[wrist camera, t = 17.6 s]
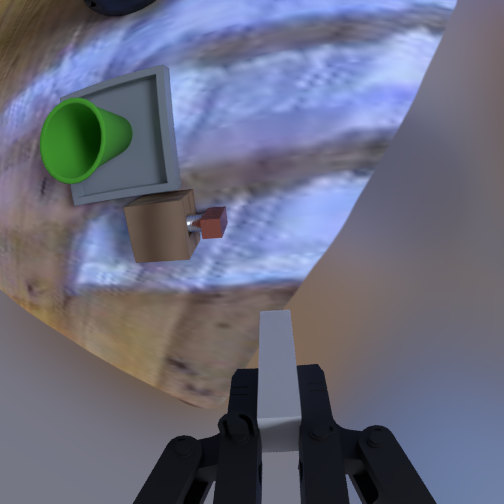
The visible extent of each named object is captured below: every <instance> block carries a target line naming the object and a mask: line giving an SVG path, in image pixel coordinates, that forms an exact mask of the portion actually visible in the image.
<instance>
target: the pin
mask: <svg viewBox="0 0 504 504" xmlns="http://www.w3.org/2000/svg"><path fill="white" fill-rule="evenodd" d="M186 221H187V228H188V232H192V231H202V237H203V239H209V238H222V237H223V234H224V231H225V229H226V226H227V214H226V206H225V207H213V208H208V209H207V211H206V212H205V214H196V215H186Z"/></svg>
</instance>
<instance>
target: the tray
mask: <svg viewBox="0 0 504 504" xmlns="http://www.w3.org/2000/svg"><path fill="white" fill-rule="evenodd" d="M77 97H80V98H84V99H87V100H89V101H90V102H92V103H93V104H94V105H95V106H96V107H99V108H102V109H104V110H107V111H109V112H112V113H114V114H117V115H119V116H121V117H124V118H125V119H127V120H128V122H129V123H130V125H131V127H132V131H133V136H132V141H131V143H130V145H129V147H128V148H127V149H126V150H125V151H124V152H123V153H121V154H119V155H118V156H116V157H114V158H113V159H111V160H109V161H108V162H106V163H105V164H103V165H102V166H100V167H98V168H97V169H96V170H95V172H94V173H93V174H92V175H91V176H90V177H89V178H87V179H85V180H84V181H82V182H80V183H75V184H70V186H71V191H72V196H73V201H74V206H76V205H81V204H87V203H93V202H98V201H104V200H110V199H116V198H123V197H129V196H136V195H143V194H150V193H158V192H165V191H173V190H177V189H179V188H180V187H181V180H180V172H179V165H178V157H177V148H176V140H175V131H174V121H173V111H172V100H171V88H170V75H169V68H168V67H166V66H165V65H160V66H156V67H152V68H148V69H144V70H140V71H136V72H133V73H129V74H126V75H122V76H119V77H116V78H113V79H109V80H106V81H103V82H100V83H98V84H95V85H92V86H89V87H86V88H84V89H81V90H79V91H76V92H73V93H71V94H68V95H66V96H64V97H61V98H60V103H61V102H62V101H64V100H67V99H70V98H77Z"/></svg>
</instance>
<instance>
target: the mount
mask: <svg viewBox="0 0 504 504" xmlns="http://www.w3.org/2000/svg"><path fill="white" fill-rule="evenodd" d="M124 212H125V217H126V222H127V227H128V231H129V236H130V240H131V245H132V249H133V253H134V257H135V261H136V263H139V262H157V261H174V260H189V259H190V258H191V256H192V254H193V252H194V250H195V248H196V247H197V245H198V243H199V241H200V235H199V231H192V232H188V228H187V221H186V215H196V208H195V200H194V193H193V189H189V190H180V191H172V192H164V193H156V194H149V195H143V196H142V197H140V198H138V199H137V200H135V201H133V202H132V203H130V204H129V205H127V206H125V207H124Z"/></svg>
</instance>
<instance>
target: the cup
mask: <svg viewBox="0 0 504 504" xmlns="http://www.w3.org/2000/svg"><path fill="white" fill-rule="evenodd" d="M132 136H133V131H132V127H131V125H130V123H129V122H128V120H127V119H125V118H124V117H121V116H119V115H117V114H114V113H112V112H109V111H107V110H104V109H102V108H99V107H96V106H95V105H94V104H93V103H92V102H90V101H89V100H87V99H84V98H80V97H77V98H70V99H67V100H64V101H62V102H61V103H60V104H58V105H57V106H56V107H55V108H54V109H53V110H52V111H51V112H50V113H49V115H48V117H47V118H46V120H45V122H44V125H43V128H42V131H41V136H40V153H41V157H42V161H43V163H44V166H45V168H46V169H47V171H48V172H49V173H50V175H51V176H53V177H54V178H55V179H56V180H58V181H60V182H63V183H66V184H75V183H80V182H82V181H84V180H85V179H87V178H89V177H90V176H91V175H92V174H93V173H94V172H95V170H96V169H97V168H98V167H100V166H102V165H103V164H105V163H106V162H108V161H109V160H111V159H113V158H114V157H116V156H118V155H119V154H121V153H123V152H124V151H125V150H126V149H127V148H128V147H129V145H130V143H131V141H132Z"/></svg>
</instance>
